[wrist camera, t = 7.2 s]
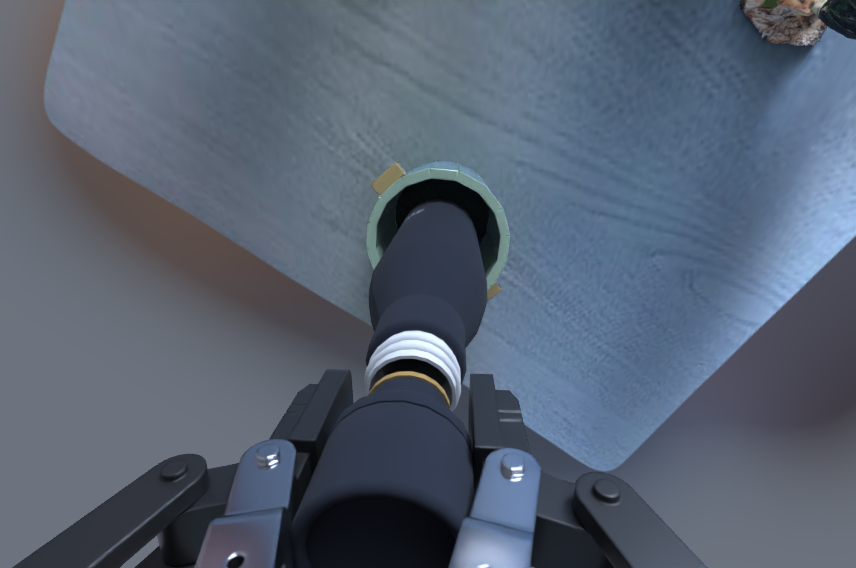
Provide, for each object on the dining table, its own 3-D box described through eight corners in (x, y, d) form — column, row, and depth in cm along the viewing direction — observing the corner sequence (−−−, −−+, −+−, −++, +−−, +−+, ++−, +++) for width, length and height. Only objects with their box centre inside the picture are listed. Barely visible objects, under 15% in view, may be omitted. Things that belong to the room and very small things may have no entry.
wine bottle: (457, 283, 38) (461, 704, 10) (390, 254, 38) (191, 609, 9) (488, 217, 36) (609, 507, 8) (418, 186, 36) (273, 373, 7)
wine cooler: (441, 127, 44) (436, 123, 32) (524, 232, 47) (547, 263, 35) (359, 201, 47) (327, 221, 35) (441, 295, 50) (437, 344, 38)
